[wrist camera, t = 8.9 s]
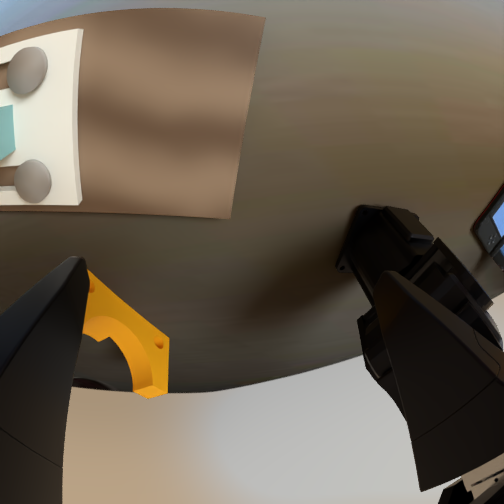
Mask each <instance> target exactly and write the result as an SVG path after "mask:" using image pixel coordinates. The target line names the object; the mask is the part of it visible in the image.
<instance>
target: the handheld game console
mask: <svg viewBox="0 0 504 504" xmlns="http://www.w3.org/2000/svg"><path fill="white" fill-rule="evenodd" d="M474 231H475V233H476V235H477V236H478V238H479V239H480V241H481V243H482V245H483V246H484V248H485V249H486V251H487V253H488V254H489V255H490V256H491V257H493V260H494V261H495V262H496V264H497V265H498V266H499V267H500V269H501V270H502V271H503V272H504V185H503V186H502V187H501V189H500V190H499V192H498V193H497V194H496V196H495V197H494V199H493V200H492V201H491V203H490V204H489V205H488V207H487V208H486V209H485V211H484V212H483V213H482V214H481V216H480V217H479V218H478V220H477V221H476V223H475V225H474Z"/></svg>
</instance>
